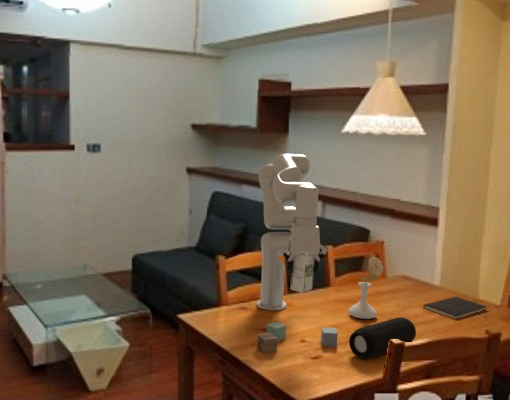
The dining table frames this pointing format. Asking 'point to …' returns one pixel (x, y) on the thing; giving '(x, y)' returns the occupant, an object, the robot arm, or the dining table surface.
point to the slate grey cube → (329, 337)
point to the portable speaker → (380, 336)
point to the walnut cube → (267, 343)
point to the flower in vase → (362, 306)
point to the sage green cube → (277, 330)
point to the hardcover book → (454, 307)
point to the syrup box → (302, 272)
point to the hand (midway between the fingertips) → (302, 271)
